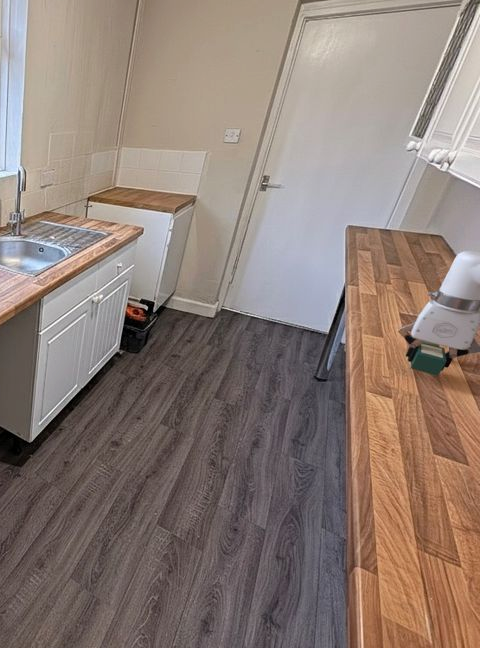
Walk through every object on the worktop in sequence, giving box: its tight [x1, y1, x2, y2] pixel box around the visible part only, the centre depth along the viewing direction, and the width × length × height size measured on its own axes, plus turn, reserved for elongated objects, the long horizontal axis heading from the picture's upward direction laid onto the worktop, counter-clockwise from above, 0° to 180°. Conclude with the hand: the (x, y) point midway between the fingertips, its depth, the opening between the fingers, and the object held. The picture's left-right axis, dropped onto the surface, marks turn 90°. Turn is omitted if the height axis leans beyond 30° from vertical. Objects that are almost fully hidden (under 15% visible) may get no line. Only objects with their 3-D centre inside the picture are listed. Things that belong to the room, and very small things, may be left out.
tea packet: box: [410, 342, 446, 377], centre depth 108 cm, size 9×5×5 cm, turn 135°
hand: (425, 363), depth 108 cm, fingers closed on tea packet, 5 cm apart
